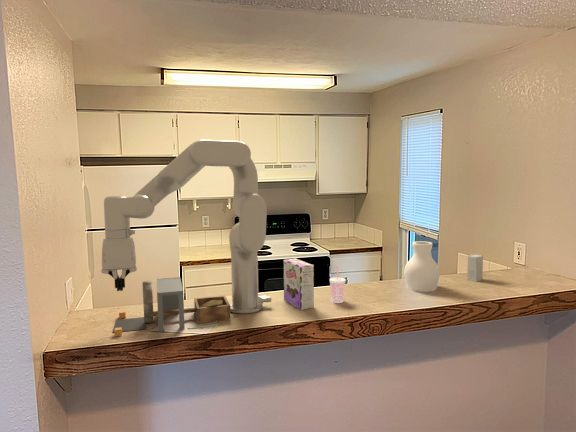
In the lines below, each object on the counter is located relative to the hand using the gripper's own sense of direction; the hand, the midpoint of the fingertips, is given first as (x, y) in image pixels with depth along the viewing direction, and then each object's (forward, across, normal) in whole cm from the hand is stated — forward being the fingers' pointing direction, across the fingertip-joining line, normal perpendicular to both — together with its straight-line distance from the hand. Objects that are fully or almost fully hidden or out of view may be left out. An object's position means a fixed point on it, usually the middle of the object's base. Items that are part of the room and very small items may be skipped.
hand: (120, 289), depth 143 cm
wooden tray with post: (+12, -30, 0) cm, 32 cm away
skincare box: (+11, -146, -9) cm, 147 cm away
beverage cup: (+12, -77, -1) cm, 78 cm away
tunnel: (+12, -16, 0) cm, 20 cm away
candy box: (+12, -62, -3) cm, 63 cm away
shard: (+13, -29, -1) cm, 31 cm away
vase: (+11, -117, -6) cm, 118 cm away
